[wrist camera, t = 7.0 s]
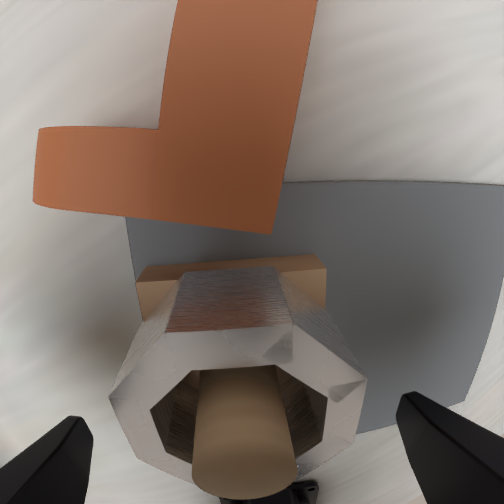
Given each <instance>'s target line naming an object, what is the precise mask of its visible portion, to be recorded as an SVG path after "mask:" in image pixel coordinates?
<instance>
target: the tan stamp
mask: <svg viewBox="0 0 504 504" xmlns="http://www.w3.org/2000/svg"><path fill="white" fill-rule="evenodd" d="M260 266H272V267H273V266H274V267H275V268H276V269H277V270H278V271H280V272H281V273H282V274H283V275H284V276H286V277H287V278H288V279H289V280H290V281H292V282H293V283H294V284H295V285H296V286H298V287H299V288H300V289H301V290H302V291H304V292H305V293H306V294H307V295H308V296H310V297H311V298H312V299H313V300H314V301H315V302H317V303H318V304H319V305H320V306H321V307H323V308H324V309H325V299H326V267H325V266H324V265H323V264H322V262H321V261H320V260H319V259H318V257H317V256H316V255H315V254H307V255H294V256H281V257H268V258H254V259H241V260H227V261H214V262H200V263H186V264H172V265H158V266H146V267H145V269H144V270H143V272H142V273H141V275H140V276H139V278H138V279H137V281H136V282H135V284H136V289H137V294H138V299H139V304H140V308H141V313H142V318H143V322H144V321H145V319H146V318H147V317H148V316H149V315H150V313H151V312H152V311H153V310H154V308H155V307H156V306H157V305H158V304H159V302H160V301H161V300H162V299H163V298H164V296H165V295H166V294H167V293H168V292H169V290H170V289H171V288H172V287H173V286H174V284H175V283H176V282H177V281H178V280H179V279H180V277H181V276H182V275H183V274H184V273H186V272H193V271H207V270H220V269H234V268H247V267H260ZM291 377H292V375H291V374H289V373H287V372H286V371H284V370H283V369H281V368H280V367H278V366H277V365H275V364H274V365H264V366H253V367H240V368H226V369H208V370H191V371H190V372H189V373H188V374H187V375H186V376H185V377H184V378H183V379H182V381H183V382H185V383H186V384H188V385H190V386H191V387H193V388H195V389H196V390H198V391H199V393H198V403H197V414H196V425H195V436H194V449H193V462H192V479H193V481H194V483H195V484H196V485H197V486H198V487H199V488H200V489H202V490H203V491H205V492H207V493H209V494H212V495H215V496H218V497H222V498H228V499H255V498H261V497H266V496H269V495H272V494H275V493H277V492H279V491H281V490H283V489H285V488H286V487H288V486H289V485H290V484H291V483H292V482H293V481H294V480H295V478H296V476H297V473H298V469H297V464H296V460H295V455H294V450H293V446H292V441H291V437H290V432H289V427H288V423H287V418H286V414H285V409H284V404H283V400H282V395H281V390H280V386H281V385H282V384H284V383H285V382H286V381H287V380H288V379H290V378H291Z"/></svg>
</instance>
